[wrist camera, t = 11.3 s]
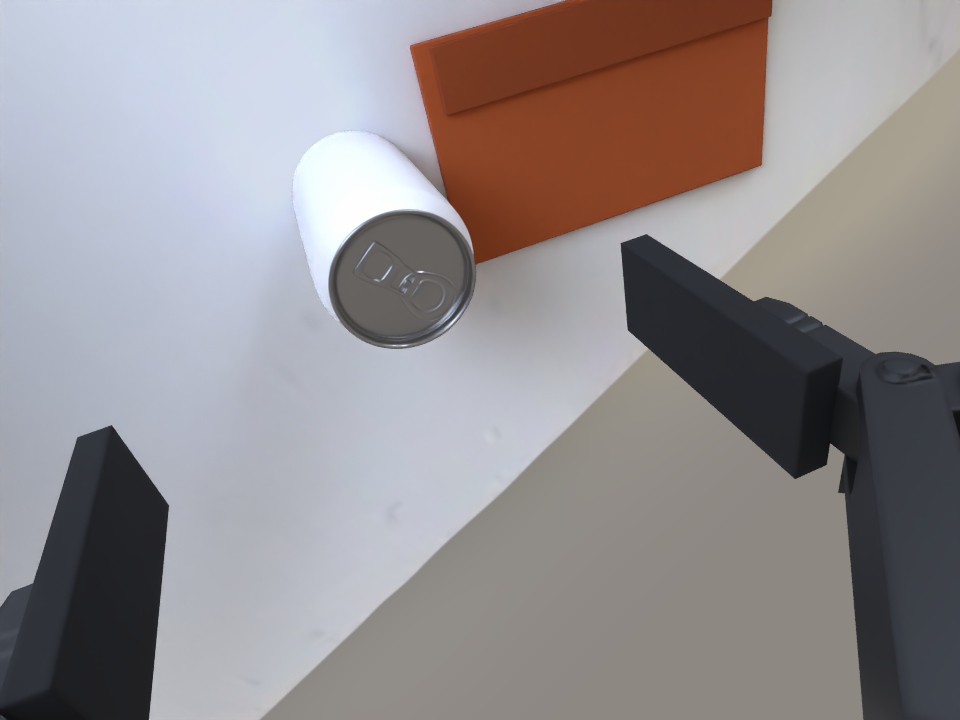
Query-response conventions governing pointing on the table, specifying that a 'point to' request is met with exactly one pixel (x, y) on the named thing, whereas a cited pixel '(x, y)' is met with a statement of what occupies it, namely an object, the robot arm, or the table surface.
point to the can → (381, 241)
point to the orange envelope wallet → (591, 111)
